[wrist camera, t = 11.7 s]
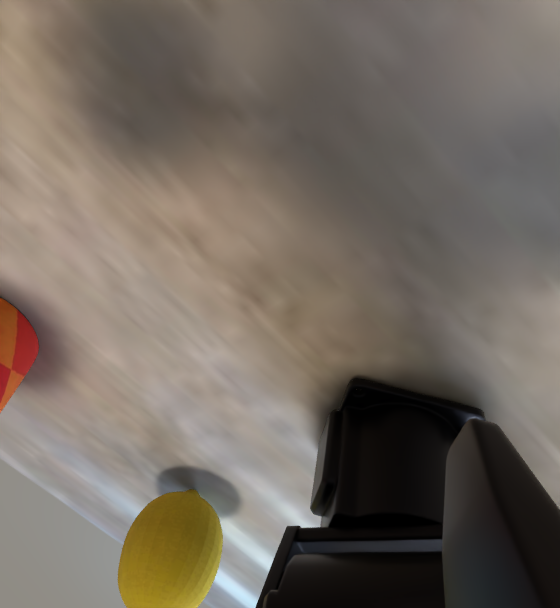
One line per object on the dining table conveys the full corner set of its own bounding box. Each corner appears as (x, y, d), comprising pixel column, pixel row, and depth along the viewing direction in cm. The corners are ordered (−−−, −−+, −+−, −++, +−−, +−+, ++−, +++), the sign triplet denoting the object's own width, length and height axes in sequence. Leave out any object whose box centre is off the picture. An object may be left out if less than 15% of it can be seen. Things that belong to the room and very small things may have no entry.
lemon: (181, 519, 35) (136, 652, 29) (134, 470, 32) (72, 604, 26) (251, 510, 33) (218, 651, 27) (207, 457, 30) (158, 599, 24)
